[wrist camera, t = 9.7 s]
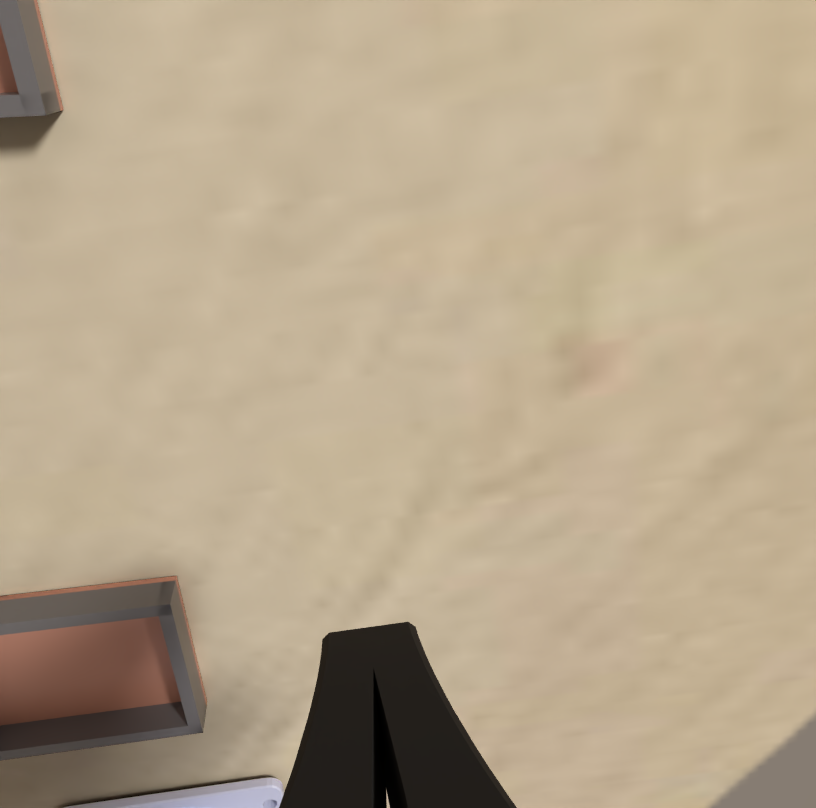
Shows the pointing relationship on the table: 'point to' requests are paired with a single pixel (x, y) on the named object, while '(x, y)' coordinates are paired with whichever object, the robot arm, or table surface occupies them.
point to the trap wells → (90, 605)
